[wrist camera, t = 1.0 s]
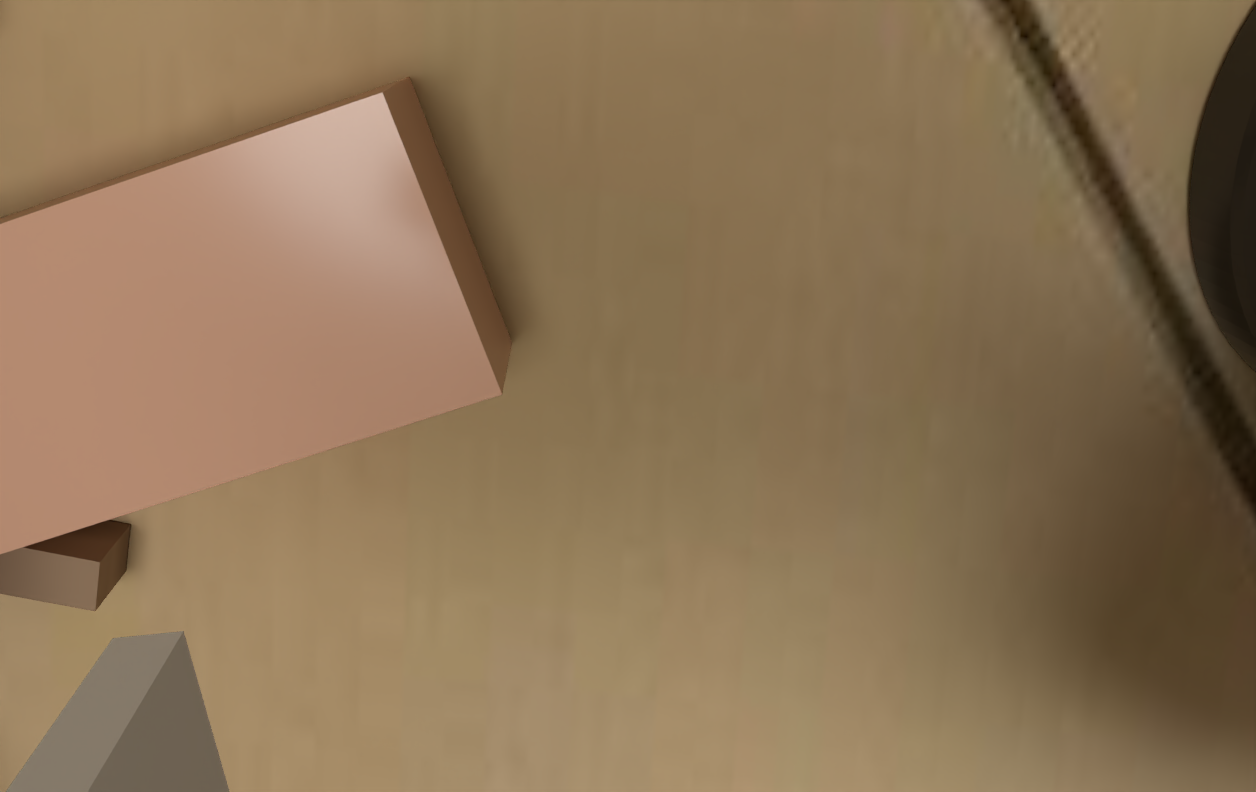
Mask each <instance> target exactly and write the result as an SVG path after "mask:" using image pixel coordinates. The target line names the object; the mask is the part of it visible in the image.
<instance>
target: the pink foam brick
mask: <svg viewBox="0 0 1256 792" xmlns="http://www.w3.org/2000/svg"><path fill="white" fill-rule="evenodd" d="M511 346H512V342H511V339H510V336H509V334H508V331H507V329H506V326H505V323H504V321H503V318H502V316H501V313H500V310H499V308H498V305H497V303H496V300H495V298H494V295H493V292H492V290H491V287H490V285H489V282H488V279H487V277H486V274H485V272H484V269H483V266H482V264H481V261H480V259H479V256H478V253H477V251H476V248H475V246H474V243H473V240H472V238H471V235H470V233H469V230H468V227H467V225H466V222H465V220H464V217H463V215H462V212H461V209H460V207H459V204H458V202H457V199H456V196H455V194H454V191H453V189H452V186H451V183H450V181H449V178H448V176H447V173H446V170H445V168H444V165H443V163H442V160H441V157H440V155H439V152H438V150H437V147H436V145H435V142H434V139H433V137H432V134H431V132H430V129H429V126H428V124H427V121H426V119H425V116H424V113H423V111H422V108H421V106H420V103H419V100H418V98H417V95H416V93H415V90H414V87H413V85H412V82H411V80H410V77H407V78H404V79H401V80H398V81H395V82H393V83H390V84H387V85H384V86H381V87H378V88H375V89H372V90H369V91H366V92H364V93H361V94H358V95H355V96H352V97H349V98H346V99H343V100H340V101H338V102H335V103H332V104H329V105H326V106H323V107H320V108H317V109H314V110H311V111H309V112H306V113H303V114H300V115H297V116H294V117H291V118H288V119H285V120H283V121H280V122H277V123H274V124H271V125H268V126H265V127H262V128H259V129H256V130H254V131H251V132H248V133H245V134H242V135H239V136H236V137H233V138H230V139H228V140H225V141H222V142H219V143H216V144H213V145H210V146H207V147H204V148H201V149H199V150H196V151H193V152H190V153H187V154H184V155H181V156H178V157H175V158H173V159H170V160H167V161H164V162H161V163H158V164H155V165H152V166H149V167H146V168H144V169H141V170H138V171H135V172H132V173H129V174H126V175H123V176H120V177H118V178H115V179H112V180H109V181H106V182H103V183H100V184H97V185H94V186H91V187H89V188H86V189H83V190H80V191H77V192H74V193H71V194H68V195H65V196H62V197H60V198H57V199H54V200H51V201H48V202H45V203H42V204H39V205H36V206H34V207H31V208H28V209H25V210H22V211H19V212H16V213H13V214H10V215H7V216H5V217H2V218H0V554H3V553H6V552H9V551H12V550H15V549H19V548H22V547H25V546H28V545H31V544H34V543H37V542H41V541H44V540H47V539H50V538H53V537H56V536H59V535H63V534H66V533H69V532H72V531H75V530H78V529H81V528H85V527H88V526H91V525H94V524H97V523H100V522H103V521H107V520H110V519H113V518H116V517H119V516H122V515H125V514H128V513H132V512H135V511H138V510H141V509H144V508H147V507H150V506H154V505H157V504H160V503H163V502H166V501H169V500H172V499H176V498H179V497H182V496H185V495H188V494H191V493H194V492H198V491H201V490H204V489H207V488H210V487H213V486H216V485H220V484H223V483H226V482H229V481H232V480H235V479H238V478H242V477H245V476H248V475H251V474H254V473H257V472H260V471H264V470H267V469H270V468H273V467H276V466H279V465H282V464H286V463H289V462H292V461H295V460H298V459H301V458H304V457H307V456H311V455H314V454H317V453H320V452H323V451H326V450H329V449H333V448H336V447H339V446H342V445H345V444H348V443H351V442H355V441H358V440H361V439H364V438H367V437H370V436H373V435H377V434H380V433H383V432H386V431H389V430H392V429H395V428H399V427H402V426H405V425H408V424H411V423H414V422H417V421H421V420H424V419H427V418H430V417H433V416H436V415H439V414H443V413H446V412H449V411H452V410H455V409H458V408H461V407H465V406H468V405H471V404H474V403H477V402H480V401H483V400H486V399H490V398H493V397H496V396H499V395H502V393H503V388H504V382H505V377H506V372H507V367H508V362H509V356H510V351H511Z"/></svg>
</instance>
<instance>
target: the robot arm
mask: <svg viewBox="0 0 1256 792" xmlns="http://www.w3.org/2000/svg"><path fill="white" fill-rule="evenodd" d="M1190 228H1191V240H1192V247H1193V254H1194V259H1195V264H1196V268H1197V272H1198V277H1199V280H1200V283H1201V286H1202V289H1203V292H1204V295H1205V298H1206V300H1207V302H1208V305H1209V307H1210V309H1211V312H1212V314H1213V316H1214V318H1215V319H1216V321H1217V323H1218V325H1219V327H1220V329H1221V330H1222V332H1223V333H1224V335H1225V336H1226V338H1227V339H1228V341H1229V342H1230V344H1231V345H1232V346H1233V348H1234V349H1235V350H1236V351H1237V353H1238V354H1239V355H1240V356H1241V358H1242V359H1243V360H1244V361H1245V362H1246V363H1247V364H1248V365H1249V366H1250V367H1251V368H1252V369H1253V370H1254V371H1255V372H1256V6H1255V8H1254V9H1253V11H1252V13H1251V14H1250V16H1249V18H1248V19H1247V21H1246V23H1245V24H1244V26H1243V27H1242V29H1241V31H1240V33H1239V35H1238V36H1237V38H1236V40H1235V42H1234V44H1233V46H1232V48H1231V50H1230V52H1229V53H1228V56H1227V58H1226V60H1225V62H1224V64H1223V67H1222V69H1221V71H1220V73H1219V75H1218V78H1217V80H1216V83H1215V86H1214V88H1213V91H1212V94H1211V96H1210V99H1209V102H1208V105H1207V108H1206V111H1205V115H1204V118H1203V121H1202V124H1201V128H1200V133H1199V137H1198V141H1197V145H1196V150H1195V157H1194V163H1193V169H1192V178H1191V189H1190ZM6 792H229V789H228V785H227V782H226V778H225V775H224V771H223V768H222V764H221V761H220V757H219V754H218V750H217V747H216V743H215V740H214V736H213V733H212V729H211V726H210V722H209V719H208V715H207V712H206V708H205V705H204V701H203V698H202V694H201V691H200V687H199V684H198V680H197V677H196V673H195V670H194V666H193V663H192V659H191V656H190V652H189V649H188V645H187V642H186V638H185V635H184V631H181V632H171V633H161V634H151V635H141V636H131V637H120V638H113V639H112V640H111V642H110V643H109V645H108V646H107V647H106V649H105V650H104V652H103V653H102V655H101V656H100V657H99V659H98V660H97V662H96V663H95V665H94V666H93V667H92V669H91V670H90V672H89V673H88V675H87V676H86V678H85V679H84V680H83V682H82V683H81V685H80V686H79V688H78V689H77V690H76V692H75V693H74V695H73V696H72V698H71V699H70V700H69V702H68V703H67V705H66V706H65V708H64V709H63V711H62V712H61V713H60V715H59V716H58V718H57V719H56V721H55V722H54V723H53V725H52V726H51V728H50V729H49V731H48V732H47V733H46V735H45V736H44V738H43V739H42V741H41V742H40V743H39V745H38V746H37V748H36V749H35V751H34V752H33V754H32V755H31V756H30V758H29V759H28V761H27V762H26V764H25V765H24V766H23V768H22V769H21V771H20V772H19V774H18V775H17V776H16V778H15V779H14V781H13V782H12V784H11V785H10V787H9V788H8V789H7V791H6Z"/></svg>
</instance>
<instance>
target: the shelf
mask: <svg viewBox="0 0 1256 792" xmlns="http://www.w3.org/2000/svg"><path fill="white" fill-rule="evenodd" d="M129 535H130V525H129V524H124V523H119V522H114V521H109V520H107V521H103V522H100V523H97V524H94V525H91V526H88V527H85V528H81V529H78V530H75V531H72V532H69V533H66V534H63V535H59V536H56V537H53V538H50V539H47V540H44V541H41V542H37V543H34V544H31V545H28V546H25V547H22V548H19V549H15V550H12V551H9V552H6V553H3V554H0V594H5V595H11V596H16V597H22V598H27V599H32V600H38V601H43V602H48V603H54V604H59V605H65V606H70V607H75V608H81V609H86V610H91V611H96V610H97V608H98V607H99V606H100V604H101V603H102V602H103V600H104V599H105V598H106V597H107V595H108V594H109V593H110V591H111V590H112V589H113V587H114V586H115V585H116V583H117V582H118V581H119V579H120V578H121V577H122V576H123V574H124V573H125V572H126V564H127V554H128V545H129Z"/></svg>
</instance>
